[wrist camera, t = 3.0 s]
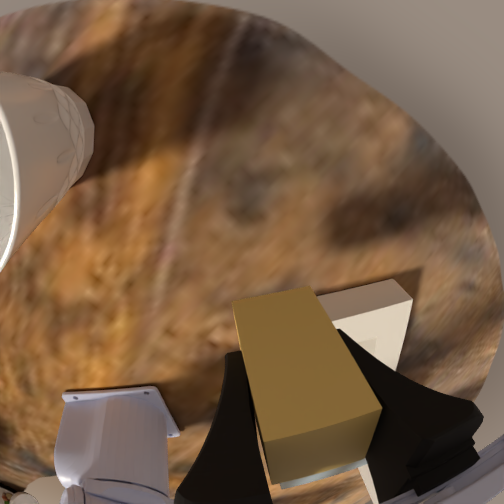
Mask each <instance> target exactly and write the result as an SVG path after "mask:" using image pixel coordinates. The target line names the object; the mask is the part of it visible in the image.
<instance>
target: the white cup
mask: <svg viewBox="0 0 504 504" xmlns="http://www.w3.org/2000/svg"><path fill="white" fill-rule="evenodd" d="M94 128H95V126H94V123H93V121H92V118H91V115H90V113H89V110H88V107H87V105H86V103H85V102H84V101H83V100H82V99H81V98H80V97H79V96H78V95H77V94H75V93H74V92H73V91H72V90H71V89H70V88H69V87H65V86H59V85H54V84H51V83H49V82H47V81H44V80H42V79H37V78H33V77H29V76H24V75H20V74H16V73H9V72H1V71H0V272H1V271H2V269H3V268H4V267H5V265H6V264H7V263H8V262H9V260H10V259H11V258H12V256H13V255H14V254H15V253H16V251H17V250H18V249H19V248H20V246H21V245H22V244H23V243H24V242H25V240H26V239H27V238H28V237H29V236H30V235H31V233H32V232H33V231H34V230H35V229H36V228H37V227H38V225H39V224H40V223H41V222H42V221H43V220H44V219H45V218H46V217H47V215H48V214H49V213H50V212H51V211H52V210H53V208H54V207H55V206H56V205H57V204H58V203H59V202H60V200H61V199H62V198H63V197H64V196H65V194H66V193H67V191H68V190H69V188H70V187H71V186H72V185H73V184H74V183H75V182H76V181H77V180H78V179H80V178H81V177H82V175H83V173H84V171H85V169H86V167H87V165H88V163H89V160H90V158H91V156H92V154H93V147H94Z"/></svg>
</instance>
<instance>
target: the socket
mask: <svg viewBox="0 0 504 504" xmlns="http://www.w3.org/2000/svg"><path fill="white" fill-rule="evenodd" d="M316 297H317V298H318V300H319V302H320V303H321V305H322V306H323V308H324V310H325V311H326V313H327V315H328V316H329V318H330V320H331V321H332V323H333V325H334V326H335V328H336V329H339V328H340V329H341V330H342V331H344V332H345V333H346V334H347V335H348V336H349V337H351V338H352V339H353V340H354V341H355V342H356V343H358V344H359V345H360V346H361V347H363V348H364V349H365V350H366V351H368V352H369V353H370V354H372V355H373V356H374V357H376V358H377V359H378V360H380V361H381V362H382V363H384V364H385V365H387V366H388V367H390V368H391V369H393V370H394V371H396V367H397V364H398V360H399V356H400V353H401V349H402V345H403V341H404V337H405V333H406V329H407V325H408V320H409V316H410V311H411V306H412V302H413V299H412V298H411V297H410V296H409V294H408V293H407V292H406V291H405V290H404V289H403V288H402V287H401V286H400V285H399V284H398V283H397V282H396V281H395V280H394V279H389V280H385V281H381V282H377V283H373V284H368V285H364V286H360V287H356V288H352V289H347V290H343V291H339V292H334V293H330V294H325V295H321V296H316Z"/></svg>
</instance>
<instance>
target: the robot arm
mask: <svg viewBox="0 0 504 504" xmlns="http://www.w3.org/2000/svg"><path fill="white" fill-rule="evenodd" d="M336 330H337V331H338V333H339V335H340V336H341V338H342V340H343V341H344V343H345V345H346V346H347V348H348V350H349V351H350V353H351V355H352V357H353V358H354V360H355V362H356V363H357V365H358V367H359V368H360V370H361V372H362V374H363V375H364V377H365V379H366V380H367V382H368V384H369V386H370V387H371V389H372V391H373V393H374V394H375V396H376V398H377V400H378V401H379V403H380V405H381V407H382V411H381V414H380V417H379V420H378V423H377V426H376V429H375V431H374V434H373V437H372V440H371V443H370V445H369V448H368V451H367V453H366V456H365V458H366V461H367V464H368V467H369V471H370V474H371V477H372V480H373V484H374V488H375V491H376V495H377V499H378V503H379V504H419V503H421V502H423V501H425V500H426V501H425V502H423V503H421V504H485V503H487V502H488V501H490V500H491V499H492V498H494V497H495V496H496V495H498V494H499V493H500V492H502V491H503V490H504V434H503V435H502V436H501V437H499V438H498V439H496V440H495V441H494V442H492V443H491V444H489V445H488V446H487V447H485V448H484V449H482V450H481V451H479V452H478V453H477V452H476V450H475V449H474V447H473V445H474V444H475V442H474V440H473V439H472V436H473V435H474V433H475V432H476V431H477V429H478V428H479V427H480V425H481V423H482V422H483V418H484V416H483V415H482V413H481V412H480V410H479V409H478V408H477V406H476V405H475V404H474V403H473V402H472V401H469V400H465V399H461V398H457V397H453V396H449V395H446V394H443V393H440V392H437V391H435V390H432V389H430V388H427V387H425V386H423V385H420V384H418V383H416V382H414V381H412V380H410V379H408V378H406V377H405V376H403V375H401V374H399V373H398V372H396V371H394V370H393V369H391V368H390V367H388V366H387V365H385V364H384V363H382V362H381V361H380V360H378V359H377V358H376V357H374V356H373V355H372V354H370V353H369V352H368V351H366V350H365V349H364V348H363V347H361V346H360V345H359V344H358V343H356V342H355V341H354V340H353V339H352V338H351V337H349V336H348V335H347V334H346V333H345V332H344V331H342V330H341V329H340V328H339V329H336ZM62 398H63V399H64V401H65V402H66V403H65V407H64V411H63V415H62V419H61V423H60V427H59V431H58V436H57V440H56V445H55V450H54V464H55V469H56V473H57V476H58V478H59V480H60V482H61V483H62V485H63V486H64V487H65V488H66V489H65V490H64V491H63V494H62V496H61V500H60V504H273V503H272V499H271V495H270V491H269V488H268V484H267V480H266V476H265V472H264V468H263V464H262V459H261V455H260V451H259V447H258V440H257V432H256V424H255V416H254V409H253V403H252V398H251V393H250V388H249V383H248V377H247V372H246V367H245V363H244V359H243V354H242V350H241V351H236V352H230V353H227V354H226V355H225V373H224V380H223V385H222V390H221V395H220V399H219V403H218V407H217V410H216V414H215V417H214V420H213V423H212V425H211V428H210V431H209V433H208V435H207V438H206V440H205V442H204V445H203V447H202V449H201V451H200V453H199V455H198V457H197V458H196V460H195V462H194V464H193V466H192V467H191V469H190V471H189V472H188V474H187V475H186V477H185V478H184V480H183V481H182V483H181V484H180V486H179V487H178V489H177V490H176V494H175V499H174V500H173V499H170V498H169V479H168V450H167V438H169V437H178V436H180V431H179V429H178V427H177V425H176V423H175V421H174V420H173V418H172V416H171V414H170V412H169V410H168V408H167V406H166V404H165V402H164V400H163V398H162V396H161V394H160V392H159V390H158V389H157V388H156V387H155V386H146V387H136V388H125V389H112V390H98V391H79V392H63V394H62ZM432 496H433V497H432ZM427 499H428V500H427Z"/></svg>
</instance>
